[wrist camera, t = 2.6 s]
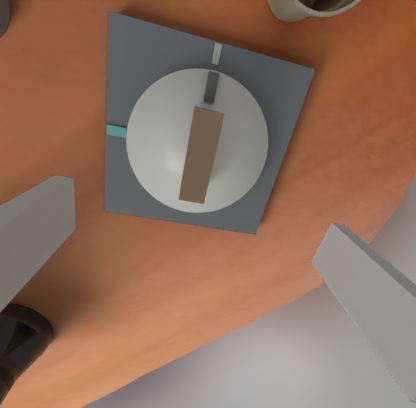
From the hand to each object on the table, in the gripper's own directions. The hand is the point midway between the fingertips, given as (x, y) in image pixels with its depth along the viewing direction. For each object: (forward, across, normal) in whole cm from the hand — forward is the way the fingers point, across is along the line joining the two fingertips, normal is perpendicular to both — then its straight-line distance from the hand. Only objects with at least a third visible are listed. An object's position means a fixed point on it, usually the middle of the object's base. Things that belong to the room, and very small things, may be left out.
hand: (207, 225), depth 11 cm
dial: (+20, 0, 0) cm, 20 cm away
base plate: (+22, 0, 0) cm, 22 cm away
